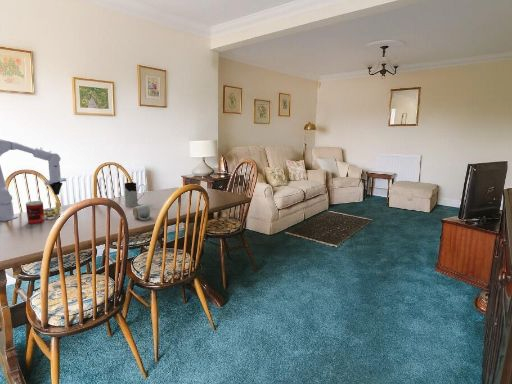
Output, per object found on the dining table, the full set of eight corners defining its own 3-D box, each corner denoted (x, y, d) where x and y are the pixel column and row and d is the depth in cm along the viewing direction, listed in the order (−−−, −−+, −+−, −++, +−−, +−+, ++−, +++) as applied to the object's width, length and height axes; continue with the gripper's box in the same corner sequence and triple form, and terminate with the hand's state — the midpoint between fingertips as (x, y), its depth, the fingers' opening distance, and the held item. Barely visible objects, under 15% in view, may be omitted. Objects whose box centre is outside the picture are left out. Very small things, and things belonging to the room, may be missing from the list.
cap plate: (29, 217, 183) (28, 211, 182) (48, 211, 196) (48, 205, 196) (50, 220, 181) (49, 213, 180) (69, 213, 194) (68, 207, 193)
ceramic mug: (132, 217, 192) (131, 204, 190) (145, 215, 197) (145, 203, 195) (139, 221, 184) (138, 209, 182) (152, 219, 190) (152, 207, 188)
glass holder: (122, 204, 220) (121, 182, 217) (143, 201, 228) (143, 181, 225) (126, 207, 213) (125, 185, 210) (147, 204, 221) (147, 183, 218)
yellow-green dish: (50, 216, 183) (49, 207, 182) (35, 214, 184) (34, 206, 183) (66, 210, 195) (66, 202, 194) (52, 209, 197) (51, 201, 196)
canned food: (40, 219, 182) (38, 200, 179) (47, 221, 178) (45, 202, 175) (25, 222, 175) (22, 202, 173) (32, 225, 171) (30, 205, 169)
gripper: (51, 174, 186) (53, 197, 189) (69, 171, 200) (71, 192, 203) (40, 174, 187) (42, 196, 190) (59, 170, 201) (61, 191, 204)
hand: (56, 194), depth 196 cm, fingers closed
